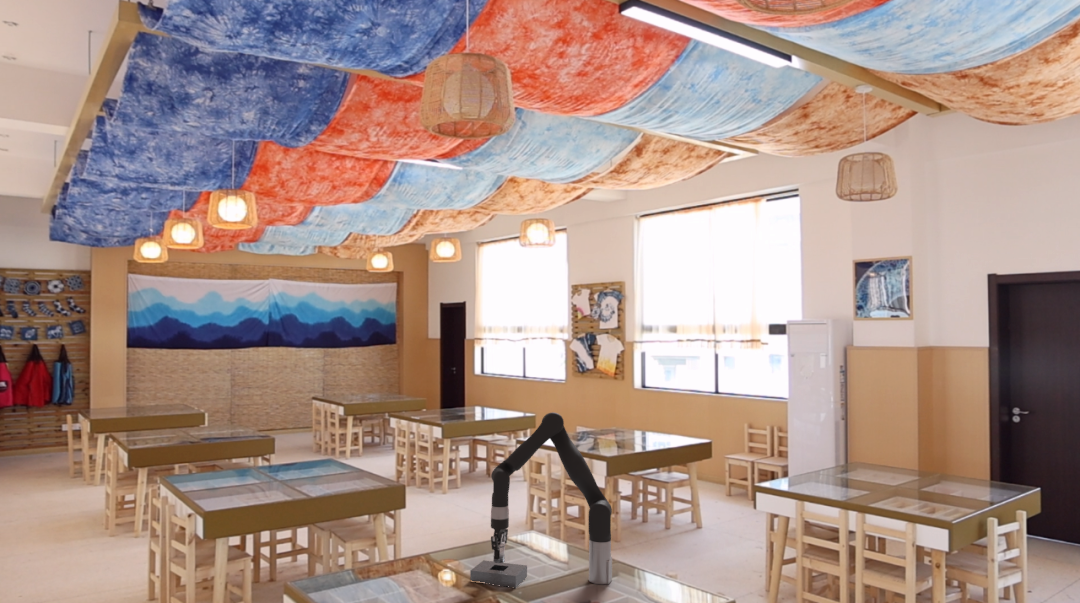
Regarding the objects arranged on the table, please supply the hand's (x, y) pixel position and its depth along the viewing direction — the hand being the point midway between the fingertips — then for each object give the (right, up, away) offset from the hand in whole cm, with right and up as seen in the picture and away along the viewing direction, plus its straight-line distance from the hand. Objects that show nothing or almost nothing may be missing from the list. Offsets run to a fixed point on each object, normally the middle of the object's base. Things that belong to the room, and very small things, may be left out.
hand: (499, 557), depth 314 cm
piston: (0, -2, 0) cm, 2 cm away
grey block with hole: (0, -10, 0) cm, 10 cm away
